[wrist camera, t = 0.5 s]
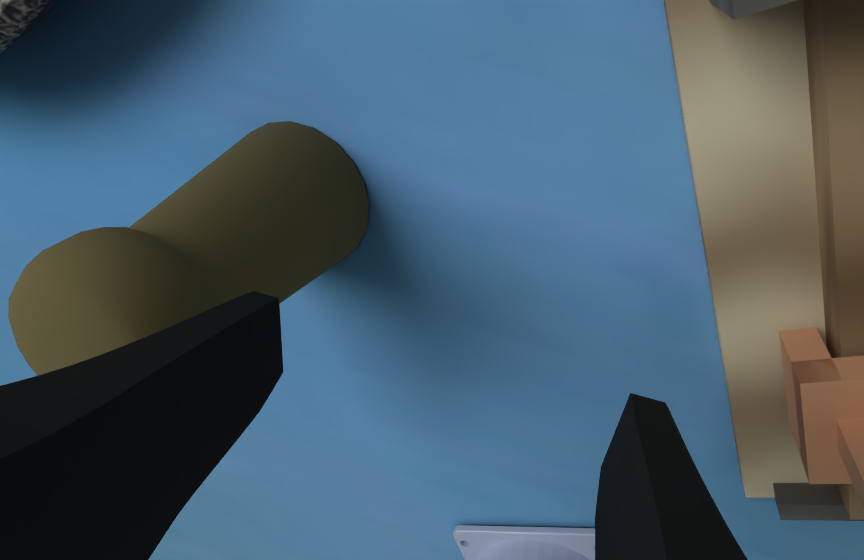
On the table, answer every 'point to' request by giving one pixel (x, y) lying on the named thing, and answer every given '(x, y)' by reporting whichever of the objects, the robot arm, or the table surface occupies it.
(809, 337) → the slider
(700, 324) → the table surface
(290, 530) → the table surface
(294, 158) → the cork
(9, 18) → the dish
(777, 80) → the rail board
